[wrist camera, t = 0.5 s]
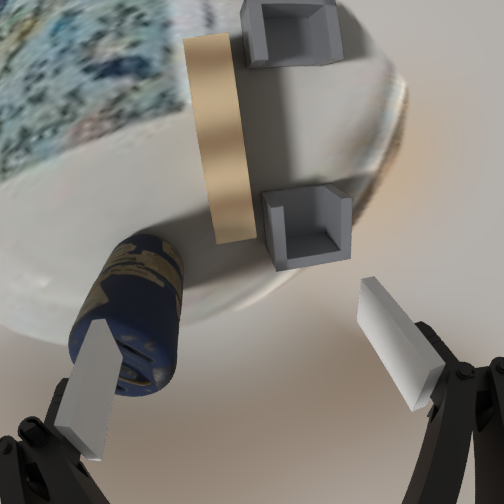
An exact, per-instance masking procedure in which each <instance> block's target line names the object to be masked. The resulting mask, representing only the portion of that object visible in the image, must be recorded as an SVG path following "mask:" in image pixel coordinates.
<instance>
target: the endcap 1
mask: <svg viewBox="0 0 504 504" xmlns="http://www.w3.org/2000/svg"><path fill="white" fill-rule="evenodd" d="M240 18H241V25H242V33H243V41H244V49H245V57H246V66H247V69H254V68H269V67H290V66H324V65H327V64H330V63H333V62H336V61H339V60H342V59H344V56H343V48H342V40H341V33H340V26H339V20H338V14H337V8H336V2H335V0H244V2H243V4H242V7H241V10H240Z"/></svg>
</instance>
